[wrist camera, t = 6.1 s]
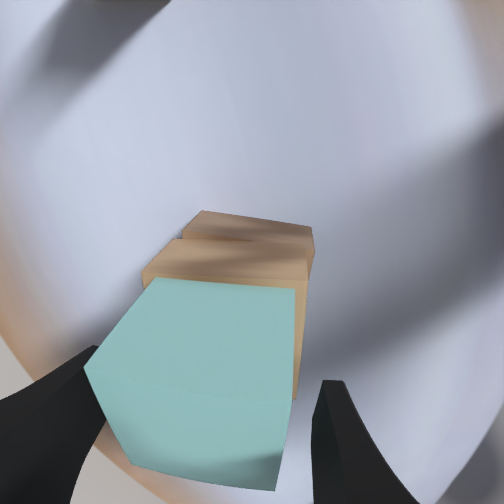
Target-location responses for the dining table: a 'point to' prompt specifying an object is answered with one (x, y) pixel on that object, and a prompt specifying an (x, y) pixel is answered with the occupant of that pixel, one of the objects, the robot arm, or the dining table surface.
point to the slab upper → (239, 271)
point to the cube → (201, 380)
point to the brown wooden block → (248, 231)
